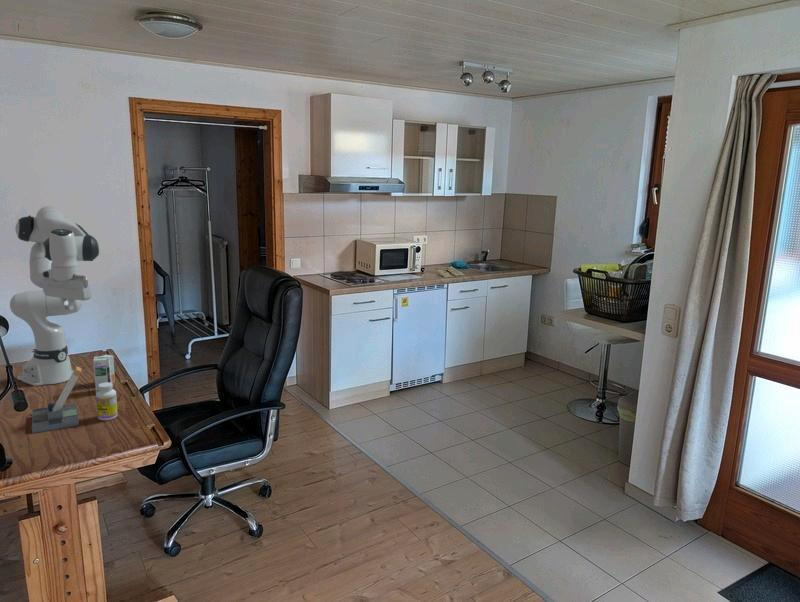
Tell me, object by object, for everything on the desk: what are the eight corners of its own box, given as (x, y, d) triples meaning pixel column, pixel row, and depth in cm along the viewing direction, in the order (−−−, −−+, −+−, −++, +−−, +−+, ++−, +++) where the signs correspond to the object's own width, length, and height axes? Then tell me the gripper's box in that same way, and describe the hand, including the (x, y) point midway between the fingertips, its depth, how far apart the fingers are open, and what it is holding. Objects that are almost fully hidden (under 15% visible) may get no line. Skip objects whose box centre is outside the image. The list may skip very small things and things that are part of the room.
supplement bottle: (93, 419, 209) (90, 385, 207) (108, 412, 215) (106, 380, 213) (107, 422, 207) (104, 388, 204) (122, 415, 213) (119, 383, 210)
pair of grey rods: (33, 415, 211) (32, 410, 211) (33, 411, 214) (32, 407, 213) (76, 408, 218) (76, 404, 218) (76, 405, 221) (75, 401, 221)
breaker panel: (32, 433, 197) (30, 419, 196) (33, 416, 210) (31, 403, 209) (79, 425, 204) (77, 411, 203) (76, 409, 217) (75, 396, 216)
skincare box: (106, 386, 241) (103, 359, 239) (97, 385, 242) (94, 358, 240) (115, 381, 247) (113, 355, 245) (107, 380, 248) (105, 354, 245)
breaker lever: (51, 417, 203) (76, 370, 204) (51, 410, 209) (75, 365, 210) (56, 418, 204) (82, 372, 205) (56, 411, 210) (80, 366, 211)
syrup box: (95, 394, 232) (92, 360, 229) (96, 389, 238) (94, 356, 235) (111, 392, 235) (108, 358, 232) (112, 387, 240) (109, 354, 237)
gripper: (93, 274, 213) (96, 310, 216) (53, 270, 220) (56, 305, 223) (79, 277, 207) (82, 314, 210) (37, 272, 214) (41, 308, 217)
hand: (68, 309), depth 217 cm, fingers closed
